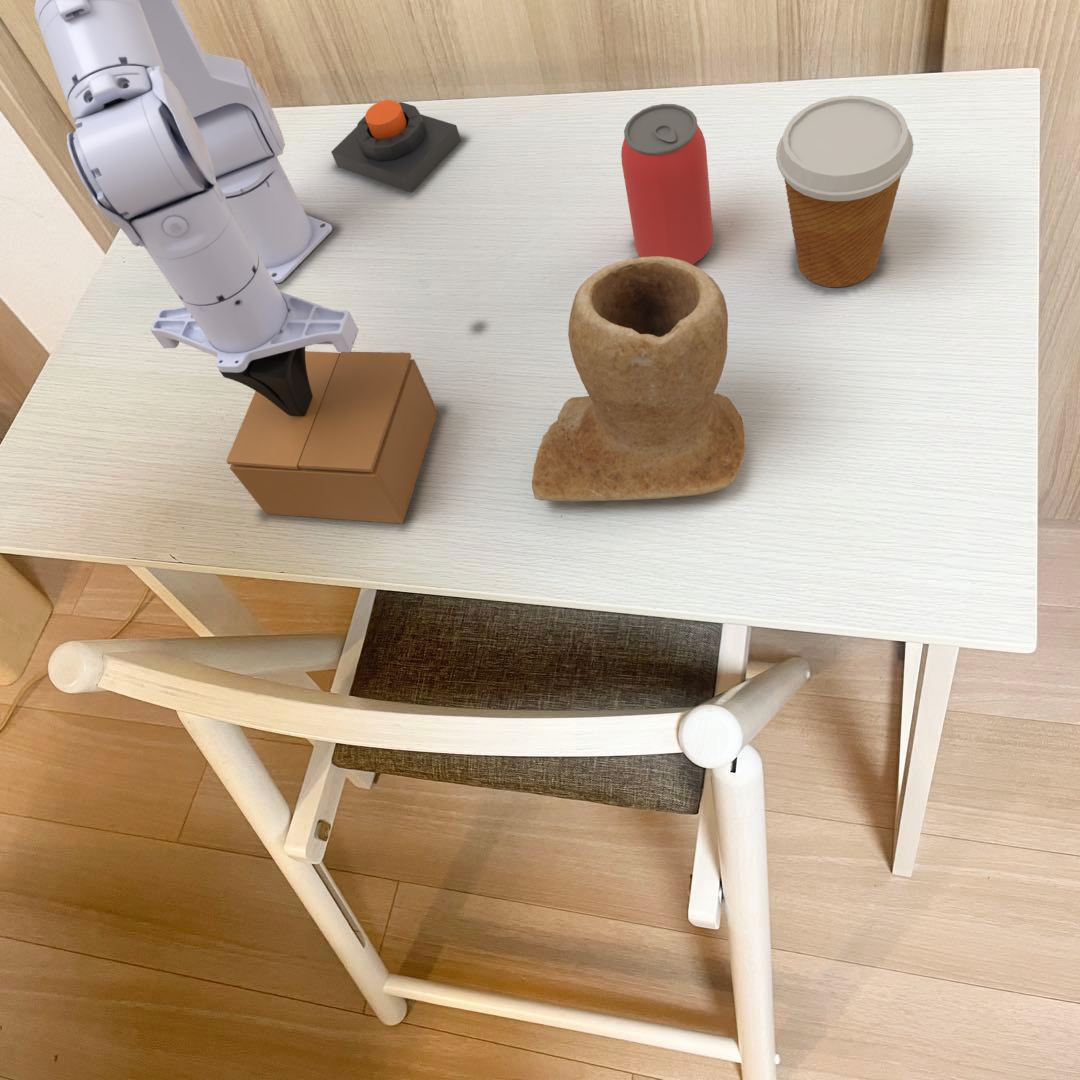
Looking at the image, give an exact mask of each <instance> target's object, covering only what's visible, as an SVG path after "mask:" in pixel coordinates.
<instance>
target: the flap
mask: <svg viewBox="0 0 1080 1080" xmlns="http://www.w3.org/2000/svg"><path fill="white" fill-rule="evenodd" d="M340 353H341V352H333V351H332V352H331V351H309V350H308V351H307V350H305V360H306V369H307V375H308V380H309V384H310V388H311V391H312V395H313V397H312V400H311V402H310V405H309V408H308V410H307V413H306V415H305V416H289V415H288V414H286V413H285V412H284V411H282V410H281V409H280V408H279V407H277V406H276V405H275V404H274V403H272V402H271V401H270V400H268V399H267V398H266V397H264V396H263V395H261V394H260V393H258V392H257V391H255V390H254V391H255V392H254V394H253V396H252V399H251V401H250V404H249V406H248V407H247V411H246V412H245V415H244V418H243V420H242V422H241V424H240V427H239V429H238V432H237V434H236V437H235V439H234V441H233V444H232V446H231V448H230V451H229V453H228V455H227V458H226V461H225V463H227V465H231V464H233V465H247V466H260V467H274V468H287V469H299V466H298V463H299V461H300V458H301V456H302V453H303V450H304V448H305V445H306V442H307V440H308V437H309V435H310V432H311V429H312V427H313V424H314V421H315V419H316V416H317V413H318V411H319V408H320V406H321V403H322V400H323V398H324V395H325V392H326V390H327V387H328V385H329V382H330V379H331V377H332V374H333V371H334V369H335V366H336V364H337V361H338V358H339V356H340Z"/></svg>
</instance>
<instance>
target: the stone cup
mask: <svg viewBox="0 0 1080 1080" xmlns="http://www.w3.org/2000/svg"><path fill="white" fill-rule="evenodd" d="M728 327H729V314H728V309H727V303H726V299H725V296H724V293H723V291H722V290H721V288H720V286H719V285H718V284H717V282H716V281H715V280H714V278H713V277H712V276H711V275H709V274H707V273H706V272H705V271H704V270H703V269H701V268H700V267H698V266H696V265H695V264H693V265H692V264H690V263H688V262H686V261H683V260H679V259H675V258H671V257H662V256H653V257H639V256H638V257H633V258H628V259H627V258H626V259H623V260H620V261H617V262H614V263H612V264H609V265H607V266H604V267H602V268H600V269H598V270H597V271H596V272H594V273H593V274H592V275H590V276H589V277H587V278H586V279H585V280H584V282H583V283H582V284H581V285H580V286H579V287H578V289H577V291H576V293H575V295H574V298H573V302H572V306H571V310H570V315H569V320H568V331H567V335H568V342H569V349H570V352H571V353H570V354H571V356H572V360H573V363H574V365H575V369H576V371H577V374H578V376H579V378H580V380H581V383H582V384H583V387H584V389H585V391H586V392H587V394H588V395H584V396H574V397H570V398H569V399H567V401H566V402H564V403H563V405H562V408H561V410H560V411H559V414H558V415H557V419H556V420H555V421H554V422H553V423H552V424H550V426H549V427H548V429H547V431H546V432H545V433H544V434H543V435H542V439H541V442H540V444H539V448H538V451H537V454H536V459H535V461H534V465H533V472H532V478H531V480H532V481H531V489H532V493H533V497H534V499H535V500H537V501H539V502H540V501H543V502H544V501H546V502H602V501H603V502H605V501H607V502H609V501H634V500H653V499H655V500H656V499H669V498H680V497H689V496H699V495H706V494H710V493H714V492H717V491H721V490H724V489H726V488H727V487H729V486H731V485H732V484H733V483H734V482H735V480H736V479H737V477H738V475H739V473H740V470H741V467H742V465H743V461H744V456H745V451H746V435H745V434H746V432H745V428H744V422H743V418H742V416H741V414H740V412H739V411H738V409H737V408H736V406H735V405H734V403H733V402H732V401H731V399H730V398H729V397H727V396H725V395H722V394H719V393H715V391H716V389H717V387H718V385H719V383H720V380H721V377H722V374H723V371H724V368H725V364H726V359H727V355H728V329H729V328H728Z"/></svg>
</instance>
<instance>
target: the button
mask: <svg viewBox="0 0 1080 1080" xmlns="http://www.w3.org/2000/svg"><path fill="white" fill-rule="evenodd" d="M364 116H365V119H366V122H367V124H368V127H369V129H370V132H371V134H372V136H373V137H374V138H376V139H387V138H392V137H394V136H396V135H398V134H400V133H401V132H402V131H403V130H404V129H405V128H406V125H407V122H406V119H405V116H404V113H403V110H402V108H401V105H400V104H399V103H398V101H397V100H393V99H386V100H381V101H379V102H376V103H374V104H373V105H371V106H370V107H369V108H368V109H367V110H366V112H365V115H364Z"/></svg>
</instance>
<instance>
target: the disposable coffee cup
mask: <svg viewBox="0 0 1080 1080" xmlns="http://www.w3.org/2000/svg"><path fill="white" fill-rule="evenodd" d="M913 152H914V140H913V136H912V134H911V132H910V130H909V128H908V124H907V121H906V119H905V117H904V115H903V113H901V112H900V111H899V110H898V109H897V108H896V107H894V106H893V105H891V104H890V103H888V102H886V101H883V100H882V99H878V98H874V97H870V96H865V95H842V96H834V97H829V98H826V99H822V100H819V101H817V102H814V103H812V104H810V105H808V106H807V107H804V108H803V109H801V110H800V111H799V112H797V113H796V114H795V115H794V116H793V117H792V118H791V119H790V120H789V122H788V124H787V125H786V127H785V128H784V131H783V135H782V136H781V137H780V139H779V142H778V143H777V147H776V153H775V154H776V155H775V161H776V165H777V168H778V170H779V172H780V174H781V176H782V177H783V178H784V179H783V180H784V184H785V190H786V196H787V203H788V209H789V215H790V221H791V228H792V233H793V234H792V235H793V241H794V247H795V253H796V260H797V266H798V268H799V271H800V273H801V274H802V275H803V276H804V277H805V278H806V279H807V280H808V281H810V282H811V283H814V284H816V285H819V286H823V287H827V288H843V287H849V286H852V285H853V286H854V285H856V284H858V283H861V282H862V281H864V280H866V279H867V278H868V277H870V275H872V274H873V272H874V271H876V268H877V266H878V263H879V259H880V255H881V251H882V248H883V244H884V240H885V237H886V234H887V229H888V226H889V223H890V218H891V215H892V212H893V207H894V204H895V200H896V197H897V194H898V189H899V185H900V182H901V178H902V174H903V173H904V171H905V170H906V168H907V167H908V166H909V163H910V161H911V159H912V157H913Z"/></svg>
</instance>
